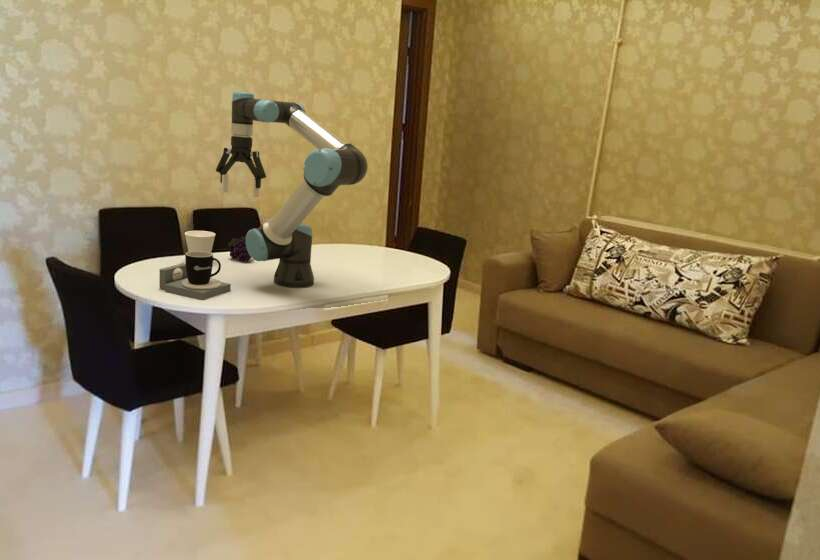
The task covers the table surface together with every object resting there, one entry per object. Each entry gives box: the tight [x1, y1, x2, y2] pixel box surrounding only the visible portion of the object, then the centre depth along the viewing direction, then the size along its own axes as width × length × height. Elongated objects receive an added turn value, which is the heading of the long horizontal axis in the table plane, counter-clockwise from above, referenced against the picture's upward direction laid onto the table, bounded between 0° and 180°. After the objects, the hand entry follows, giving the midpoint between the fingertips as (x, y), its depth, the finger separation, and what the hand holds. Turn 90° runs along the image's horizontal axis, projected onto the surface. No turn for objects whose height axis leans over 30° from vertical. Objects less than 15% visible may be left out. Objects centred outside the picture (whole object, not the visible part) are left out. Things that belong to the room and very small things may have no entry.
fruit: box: [227, 236, 252, 263], centre depth 277 cm, size 10×11×15 cm
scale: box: [159, 262, 231, 301], centre depth 227 cm, size 19×15×7 cm
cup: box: [184, 230, 217, 253], centre depth 264 cm, size 12×12×12 cm
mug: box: [184, 251, 222, 285], centre depth 225 cm, size 12×9×10 cm
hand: (240, 194), depth 242 cm, fingers open, 13 cm apart
